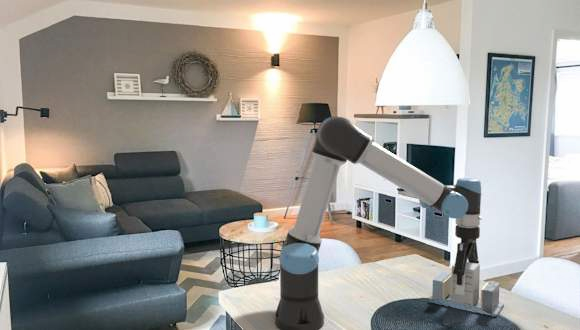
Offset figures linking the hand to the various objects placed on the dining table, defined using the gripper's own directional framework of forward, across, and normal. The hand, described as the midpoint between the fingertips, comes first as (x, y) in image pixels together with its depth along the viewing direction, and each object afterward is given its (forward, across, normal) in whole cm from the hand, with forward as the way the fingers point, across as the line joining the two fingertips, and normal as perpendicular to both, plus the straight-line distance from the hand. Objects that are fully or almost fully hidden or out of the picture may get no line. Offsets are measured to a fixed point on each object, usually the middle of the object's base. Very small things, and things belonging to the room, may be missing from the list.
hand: (465, 287), depth 161 cm
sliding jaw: (+4, 0, +8) cm, 9 cm away
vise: (+6, 0, 0) cm, 6 cm away
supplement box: (+5, 0, 0) cm, 5 cm away
